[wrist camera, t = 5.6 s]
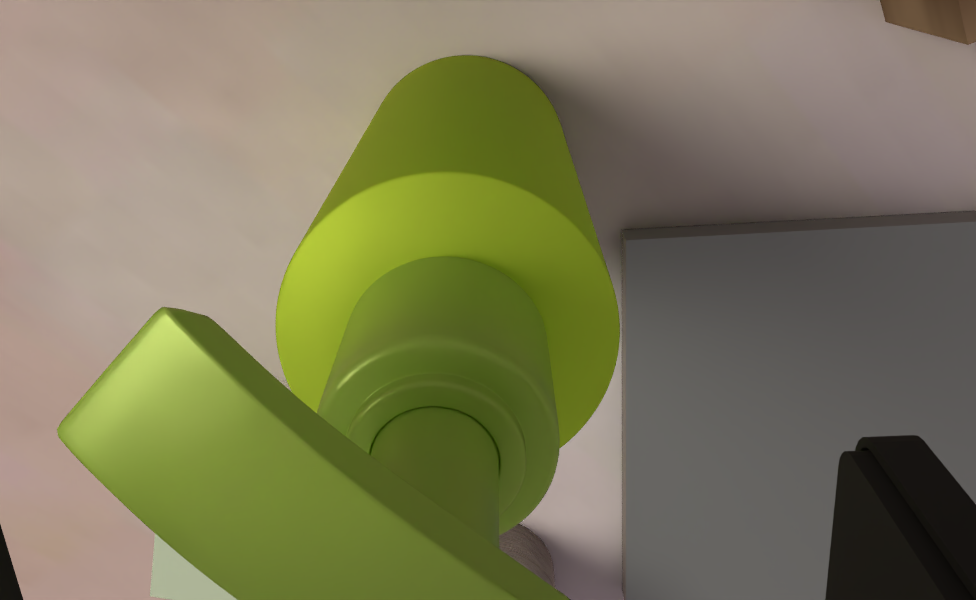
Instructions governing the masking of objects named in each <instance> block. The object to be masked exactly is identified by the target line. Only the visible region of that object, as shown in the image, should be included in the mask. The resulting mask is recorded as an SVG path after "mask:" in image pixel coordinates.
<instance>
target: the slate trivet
mask: <svg viewBox="0 0 976 600" xmlns="http://www.w3.org/2000/svg"><path fill="white" fill-rule="evenodd" d="M901 435H917V436H919V437H920V438H921V439H923V440H924V441H925V443H926V444H927V445H928V446H929V447H930V449H931V450H932V451H933V452H934V454H935V455H936V456H937V457H938V459H939V460H940V461H941V462H942V463H943V465H944V466H945V467H946V468H947V470H948V471H949V472H950V473H951V474H952V476H953V477H954V478H955V479H956V481H957V482H958V483H959V484H960V485H961V487H962V488H963V489H964V490H965V492H966V493H967V494H968V495H969V497H970V498H971V499H972V500H973V501H974V503H975V504H976V211H963V212H944V213H925V214H907V215H888V216H869V217H851V218H832V219H813V220H795V221H776V222H757V223H739V224H720V225H701V226H683V227H664V228H645V229H626V230H622V591H623V596H624V600H825V598H826V587H827V577H828V567H829V557H830V546H831V536H832V526H833V516H834V505H835V495H836V485H837V475H838V465H839V459H840V456H841V454H842V453H843V452H844V451H855V448H856V445H857V443H858V441H859V440H860V439H861V438H862V437H876V436H901Z"/></svg>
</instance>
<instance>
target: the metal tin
mask: <svg viewBox="0 0 976 600" xmlns="http://www.w3.org/2000/svg"><path fill="white" fill-rule="evenodd" d="M499 549H500V550H502V551H503V552H505V553H506V554H507V555H509V556H510V557H512V558H513V559H514V560H516V561H517V562H519V563H520V564H521V565H523V566H524V567H526V568H527V569H528V570H530V571H531V572H533V573H534V574H535V575H537V576H538V577H540V578H541V579H542V580H544V581H545V582H547V583H548V584H550V585H551V586H552V587H554V588H555V579H554V569H553V562H552V558H551V555H550V553H549V551H548V549H547V548H546V546H545V545H544V543H543V542H542V541H541V540H540V538H539V537H538V536H536V535H535V534H534V533H533V532H532V531H530V530H529V529H527V528H526V527H524V526H522V525H520V524H517V525H516V526H515V527H513V528H512V529H510V530H508V531H507V532H505V533H503V534H501V535H499Z"/></svg>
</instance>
